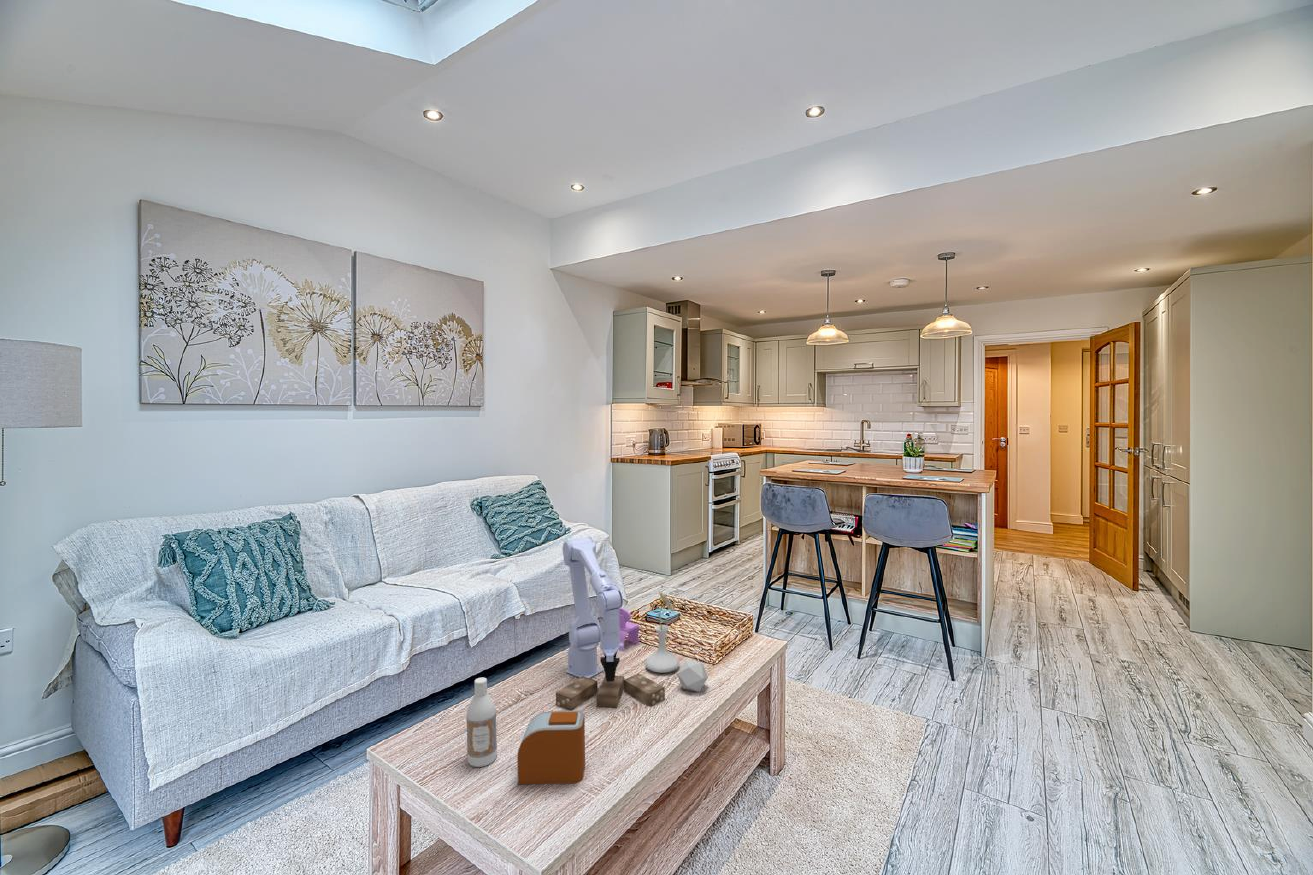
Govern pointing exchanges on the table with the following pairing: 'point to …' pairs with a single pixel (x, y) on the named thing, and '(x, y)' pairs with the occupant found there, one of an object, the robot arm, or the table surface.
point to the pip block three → (576, 693)
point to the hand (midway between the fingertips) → (610, 674)
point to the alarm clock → (553, 749)
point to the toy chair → (627, 628)
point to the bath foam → (481, 727)
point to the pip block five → (644, 689)
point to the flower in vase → (662, 647)
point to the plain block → (610, 692)
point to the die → (692, 675)
